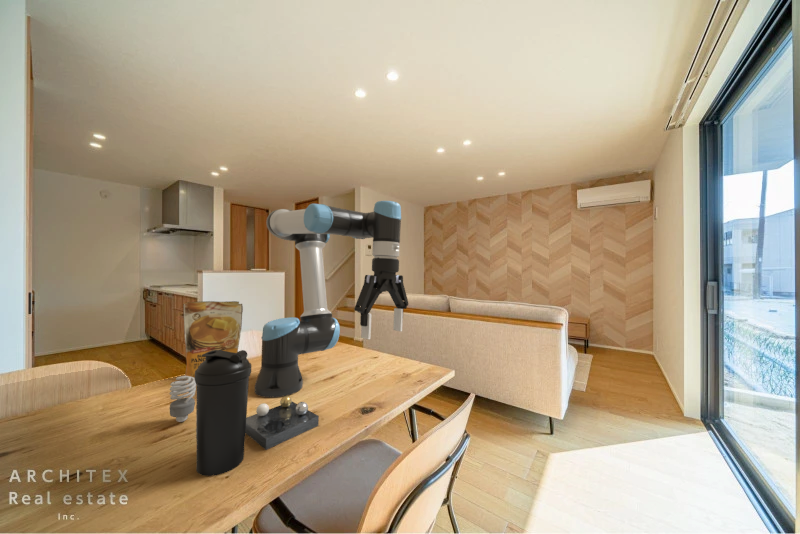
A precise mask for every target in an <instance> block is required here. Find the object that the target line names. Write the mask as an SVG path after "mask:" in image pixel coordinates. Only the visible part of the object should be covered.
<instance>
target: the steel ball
mask: <svg viewBox="0 0 800 534" xmlns="http://www.w3.org/2000/svg"><path fill="white" fill-rule="evenodd" d="M296 404H297V406H296V409H295V410H296V413H297V414H298V415H304V414H305V413H306V412H307V411H308V410H309V405H308V403H307V402H305V401H300V402H298V403H296Z"/></svg>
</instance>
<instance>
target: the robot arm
mask: <svg viewBox="0 0 800 534" xmlns="http://www.w3.org/2000/svg"><path fill="white" fill-rule="evenodd" d="M401 221H402V207H401V204H400V203H399V202H397V201H393V200H379V201H378V200H377V201H376V202H375V203H374V208H373V211H370V212H361V211H356V210H352V209H346V208H340V207H335V206H331V205H327V204H323V203H310V204H309V205H308V206H307V207H306V208H303V209H302V208H301V209H296V210H295V209H294V210H292V209H286V208H280V209H275V210H273V211H271V212H270V213H269V214H268V216H267V217H266V221H265V222H266V228H267V230H268V231H269V233H270V234H271V235H272V236H274V237H276V238H277V239H278V238H279V240H280V239H281V240H283V241H291V242H294V245H295V249H297V250H298V251H299V257H300V258H299V261H300V274H301V286H302V288H301V289H302V300H303V301H302V303H303V312H302V314H301V315H300V318H298V317H291V316H290V317H282V318H276V319H273V320H271V321H268V322H267V323H264V326H263V327H262V332H261V333H262V334H261V361H260V362H261V364H260V365H261V366H260V370H259V373H258V375H257V378H256V380H255V384H254V394H255V395H256V396H258V397H263V398H279V397H280V398H282V397H284V396H289V395H293V394H295V393H298V392H299V391H301V390H302V388H303V381H304V379H303V376H302V373H301V371H300V370H301V369H300V366H299V355H306V354H311V353H316V352H324V351H326V350H330V349H333V348H334V347H335V346H336V344H337V343H338V341H339V339H340V338H339V337H340V334H341V332H340V331H341V329H340V328H341V327H340V323H339V322H338V319H336V318H335V317H333V313H332V312H331V311H330V310H329V309H328V303H327V301H328V300H327V289H326V279H325V278H326V277H325V276H326V275H325V268H324V255H323V254H324V253H323V249H324V248H325V247H326V246H327V245H326V243H328V242H329V240H330V238H331V237H330V235H336V236H344V237H351V238H352V239H356V240H357V239H359V240H365V239H371V238H372V252H371V253H372V254H371V256H372V257H373V258H372V259H371V271H372V272H373V274H365V276H364V281H363V285H362V288H361V290H360V293H359V296H358V298H357V301H356V302H355V306H354V308H353V309H354V311H355V312H357V313H360V318H359V319H360V320H359V321H360V323H359V325H360V326H361V329H360V331H361V333H360V338H361V339H365V340H371V337H372V336H371V334H372V333H371V332H372V313H370V312H371V310H372V308H373V307H374V305H375V303H376V301H377V300H378V298H379V296H380V294H382V293H384V292H388V293H389V295H390V297H391V300H392V301H393V303H394V305H395V307H394V309H393V327H392V328H393V329H392V330H393V331H396V332H403V319H404V310H405V309H407V308H408V306H409V299H408V297H407V291H406V289H405V284H404V275H399V274H396V273H399V270H400V260H399V259H398V258H399V257H400V242H401V224H402V222H401Z"/></svg>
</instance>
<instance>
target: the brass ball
mask: <svg viewBox="0 0 800 534" xmlns="http://www.w3.org/2000/svg"><path fill="white" fill-rule="evenodd" d="M291 402H293V400H292V397H291V396H289V395H286V396H281V398H280V401H279V404H280V405H281V406H282V407H288V406H290V404H291Z"/></svg>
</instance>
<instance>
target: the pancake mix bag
mask: <svg viewBox="0 0 800 534" xmlns="http://www.w3.org/2000/svg"><path fill="white" fill-rule="evenodd" d="M182 305H183V306H182V308H183V309H182V311H183V317H182V318H183V321H184V322H183V329H184V330H183V332H184V334H183V335H184V342H185V361H186V367H185V375H184V376H190V377H194V378H195V371H196V370H197V369H198V367H199V365H200V364H201V363H202V362H204V361H205V359H206V357H202V355H203V354H205V353H207V352H209V351H212V350H223V351H227V352H233V353H237V352H239V347H240V346H239V345H240V340H241V331H242V323H243V322H242V321H243V311H244V307H243V303H240V301H234V300H233V301H215V300H214V301H212V300H211V301H210V300H209V301H188V302H186V303H183V304H182ZM183 380H188V379H183ZM191 381H192V380H191Z"/></svg>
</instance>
